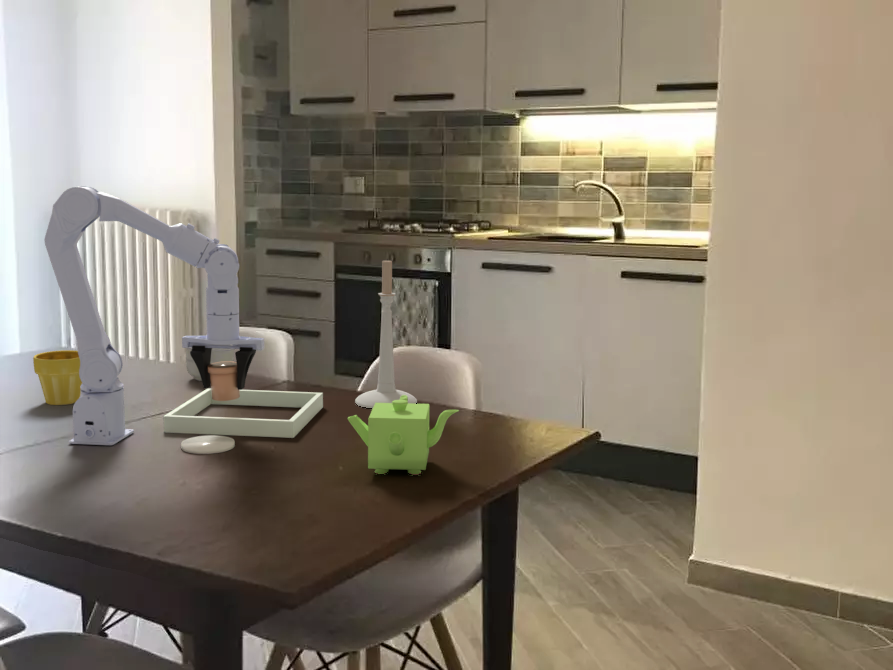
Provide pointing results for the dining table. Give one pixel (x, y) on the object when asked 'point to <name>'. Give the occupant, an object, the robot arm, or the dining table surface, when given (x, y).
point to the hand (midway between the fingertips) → (224, 387)
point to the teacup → (216, 356)
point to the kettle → (399, 435)
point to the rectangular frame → (188, 423)
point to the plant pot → (59, 376)
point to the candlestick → (385, 351)
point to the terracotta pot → (223, 380)
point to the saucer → (207, 444)
